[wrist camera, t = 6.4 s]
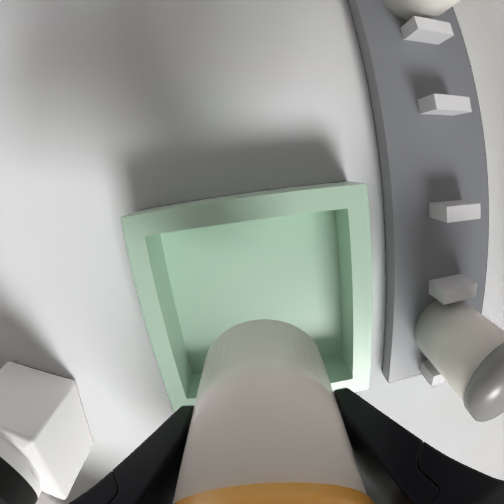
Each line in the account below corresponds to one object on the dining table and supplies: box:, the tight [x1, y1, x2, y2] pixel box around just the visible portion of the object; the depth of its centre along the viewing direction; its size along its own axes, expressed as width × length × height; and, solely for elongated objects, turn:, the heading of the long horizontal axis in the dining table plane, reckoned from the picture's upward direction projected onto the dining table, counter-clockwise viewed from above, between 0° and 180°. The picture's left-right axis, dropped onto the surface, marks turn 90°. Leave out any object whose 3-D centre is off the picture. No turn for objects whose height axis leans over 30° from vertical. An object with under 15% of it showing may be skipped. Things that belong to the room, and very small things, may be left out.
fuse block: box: [348, 0, 504, 422], centre depth 12 cm, size 27×7×8 cm, turn 8°
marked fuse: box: [173, 319, 375, 504], centre depth 7 cm, size 4×4×7 cm
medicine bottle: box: [0, 361, 94, 504], centre depth 14 cm, size 7×7×12 cm
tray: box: [121, 181, 372, 412], centre depth 16 cm, size 11×11×3 cm
